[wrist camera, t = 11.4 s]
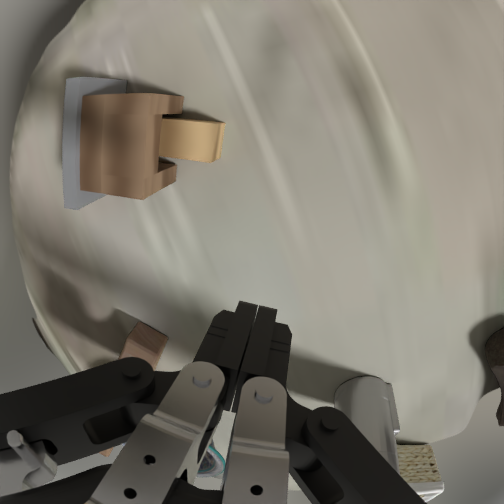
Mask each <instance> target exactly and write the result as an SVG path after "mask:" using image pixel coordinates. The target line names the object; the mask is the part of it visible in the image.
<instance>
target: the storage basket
mask: <svg viewBox="0 0 504 504" xmlns="http://www.w3.org/2000/svg"><path fill="white" fill-rule="evenodd" d="M396 445H397V452H398V460H399V469H400V476H401V477H402V478H403V479H404V480H405V481H406V482H407V483H408V484H409V486H410V487H411V488H412V489H413V490H414V491H415V492H416V493H417V494H418V495H420V494H422V495H420V497H421V498H422V499H423V500H424V501H425V502H427V501H429V500H431V499H432V498H434V497H435V496H437V495H439V494H440V493H442V492H443V490H444V482H443V481H441V476H440V474H439V471H438V468H437V464H436V460H435V456H434V453H433V450H432V447H431V446H430V445H398V444H396ZM433 470H434V471H433Z"/></svg>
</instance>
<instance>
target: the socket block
mask: <svg viewBox="0 0 504 504" xmlns="http://www.w3.org/2000/svg"><path fill="white" fill-rule="evenodd" d="M183 100H184V97H182V96H174V95H164V94H154V93H124V94H102V95H87V96H83V97H82V109H81V125H80V190H81V191H88V192H95V193H102V194H108V195H115V196H121V197H128V198H134V199H140V200H144V199H145V198H147V197H149V196H150V195H152V194H154V193H156V192H157V191H159V190H161V189H163V188H164V187H166V186H168V185H170V184H172V183H173V182H175V181H176V169H177V165H175V164H167V163H158V159H159V145H160V133H161V122H162V114H182V108H183Z"/></svg>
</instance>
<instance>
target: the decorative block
mask: <svg viewBox="0 0 504 504" xmlns="http://www.w3.org/2000/svg"><path fill="white" fill-rule="evenodd" d="M167 340H168V338H167V336H165V335H163V334H161V333H159V332H157V331H156V330H154V329H152V328H150V327H149V326H147V325H145V324H143V323H142V322H138V323H137V325H136V326H135V327H134V329H133V330H132V331H131V333H130V334H129V336H128V337H127V338H126V341H125V344H124V347H123V349H122V352H121V354H120V356H119V358H118V360H119V359H122V358H126V357H138V358H141V359H144V360H146V361H147V362H148V363H150V365H151V366H152V368H153V370H154V371H155V369H156V366H157V364H158V361H159V359H160V357H161V354H162V352H163V350H164V347H165V345H166V343H167ZM112 449H113V447H112V448H110V449H107V450H104V451H101V452H99V453H100V454H102V455H104V456H106V457H107V456H109V455H110V453H111V451H112Z"/></svg>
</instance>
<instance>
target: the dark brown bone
mask: <svg viewBox="0 0 504 504" xmlns="http://www.w3.org/2000/svg"><path fill="white" fill-rule="evenodd" d="M485 354H486V357H487V360H488V363H489V366H490V368H491V370H492V371H493V373H494V375H495V376H496V378H497V380H498V382H499V385H500V388H501V393H502V394H501V395H502V396H501V402H500V405H499V407H498V409H497V413H496V417H497V419H498V423H499V426H504V328H503V329H501V330H499V331H497V332H496V333H494V334H493V335H492V336H491V337H490V339H489V340H488V342H487V344H486V348H485Z"/></svg>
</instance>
